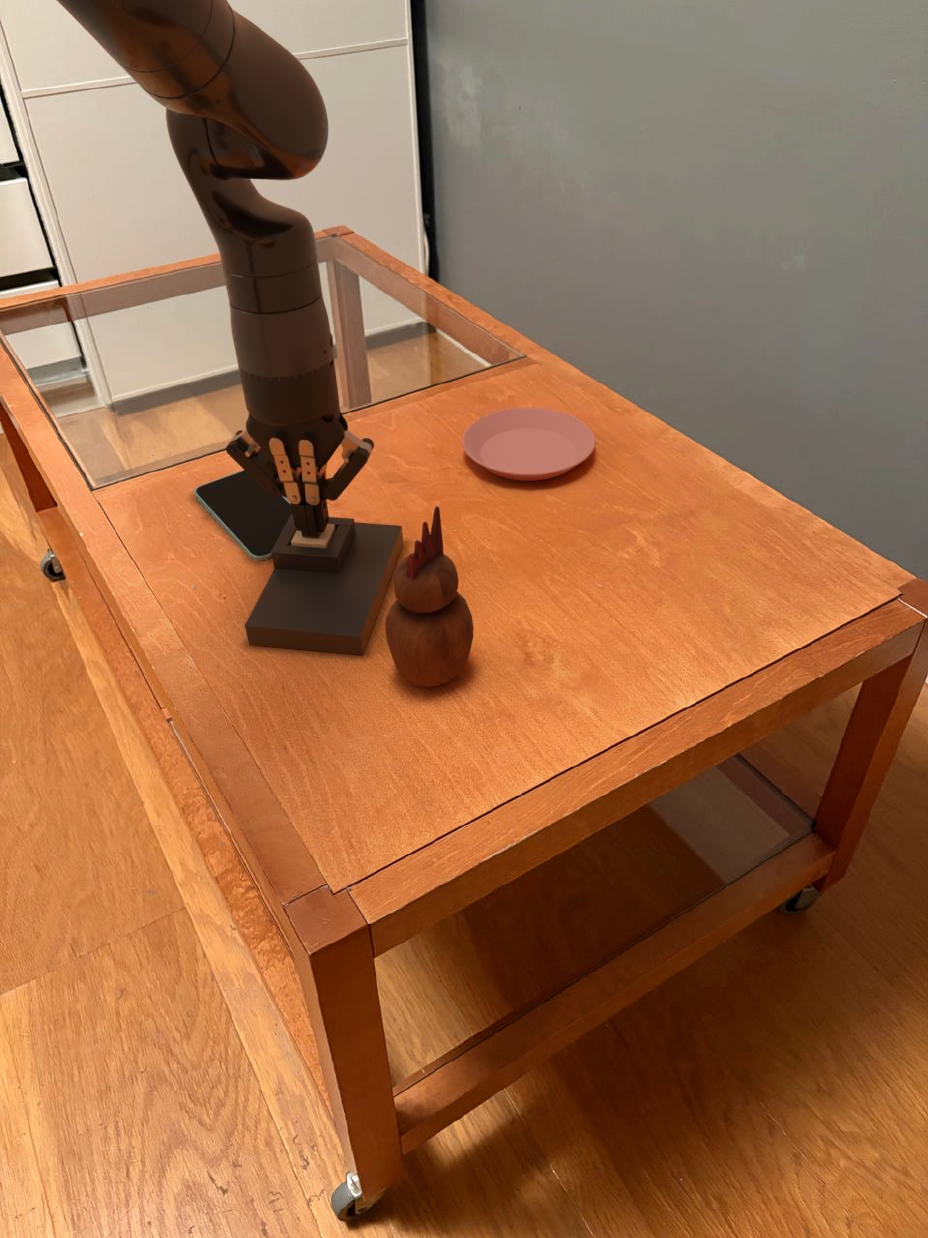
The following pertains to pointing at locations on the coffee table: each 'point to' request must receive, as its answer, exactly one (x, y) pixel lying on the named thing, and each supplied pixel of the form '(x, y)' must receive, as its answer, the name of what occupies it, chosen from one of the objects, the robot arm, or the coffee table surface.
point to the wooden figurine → (428, 614)
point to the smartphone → (246, 512)
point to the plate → (528, 443)
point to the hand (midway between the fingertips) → (313, 532)
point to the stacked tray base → (326, 589)
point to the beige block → (315, 542)
